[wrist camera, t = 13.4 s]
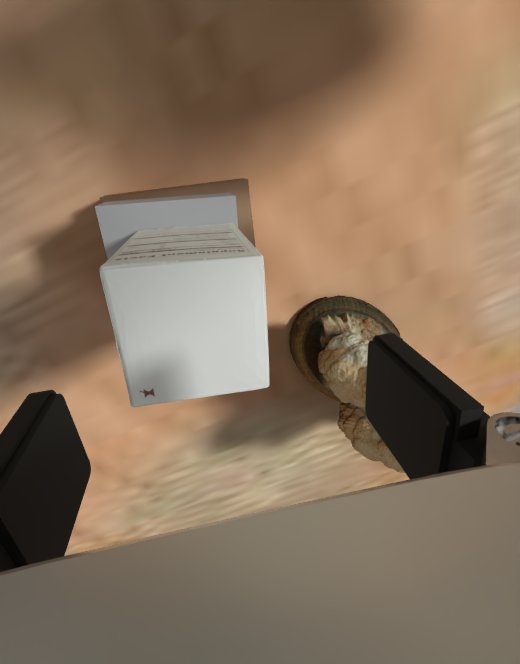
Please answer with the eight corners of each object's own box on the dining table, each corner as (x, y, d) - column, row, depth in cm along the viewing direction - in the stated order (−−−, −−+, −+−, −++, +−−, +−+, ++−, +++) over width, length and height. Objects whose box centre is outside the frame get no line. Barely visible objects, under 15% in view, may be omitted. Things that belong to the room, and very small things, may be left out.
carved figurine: (428, 354, 46) (549, 449, 30) (363, 418, 48) (445, 535, 33) (334, 269, 38) (432, 338, 23) (264, 350, 41) (310, 459, 26)
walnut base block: (109, 194, 32) (100, 197, 29) (241, 178, 34) (247, 179, 30) (142, 317, 37) (137, 332, 34) (255, 298, 39) (262, 311, 35)
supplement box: (241, 310, 30) (272, 393, 19) (151, 319, 29) (126, 413, 18) (235, 219, 27) (268, 253, 16) (134, 226, 26) (92, 266, 15)
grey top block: (105, 201, 29) (94, 206, 25) (229, 192, 30) (235, 195, 27) (131, 316, 33) (125, 334, 29) (239, 303, 34) (245, 319, 31)
